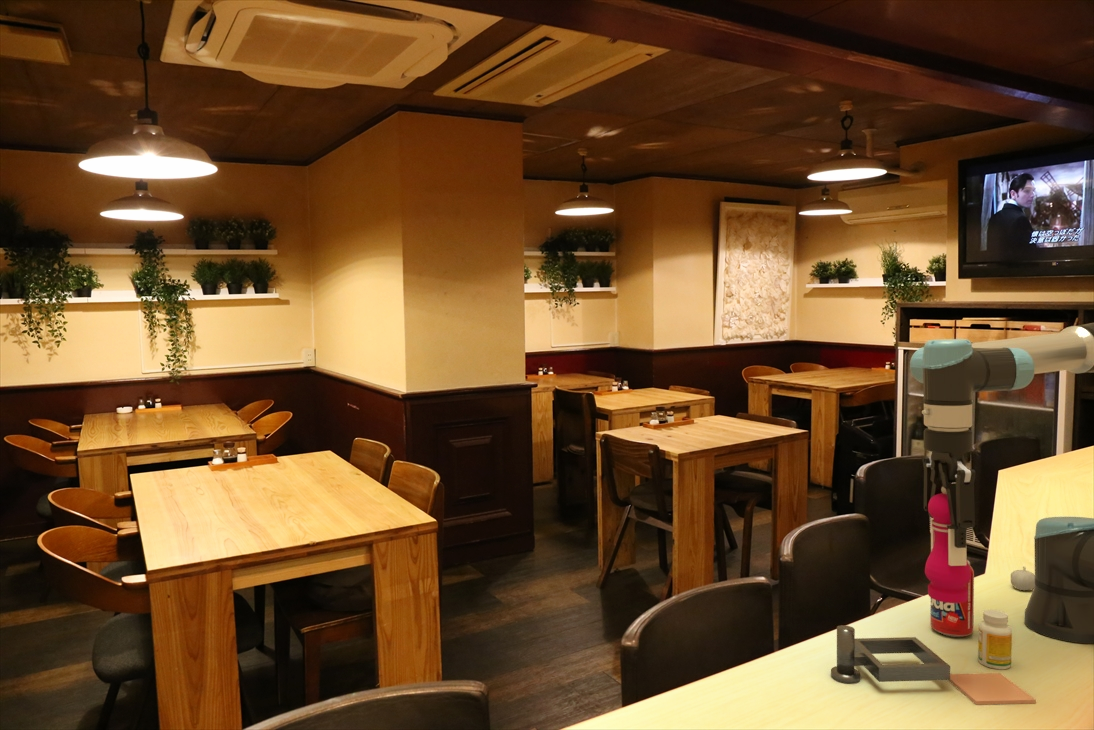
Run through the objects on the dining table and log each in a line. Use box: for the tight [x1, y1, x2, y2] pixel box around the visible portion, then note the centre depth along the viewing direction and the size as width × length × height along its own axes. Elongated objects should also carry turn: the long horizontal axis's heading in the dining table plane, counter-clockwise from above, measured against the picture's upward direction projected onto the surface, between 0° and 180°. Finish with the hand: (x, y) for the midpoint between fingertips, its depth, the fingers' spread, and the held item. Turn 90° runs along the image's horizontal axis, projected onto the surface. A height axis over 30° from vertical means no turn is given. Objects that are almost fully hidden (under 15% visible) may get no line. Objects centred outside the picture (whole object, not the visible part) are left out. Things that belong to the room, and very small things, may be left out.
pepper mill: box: [924, 486, 971, 603], centre depth 136 cm, size 7×7×20 cm
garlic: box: [1010, 566, 1035, 591], centre depth 184 cm, size 6×5×5 cm
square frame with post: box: [830, 624, 951, 685], centre depth 140 cm, size 18×12×9 cm
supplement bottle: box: [977, 609, 1013, 670], centre depth 144 cm, size 5×5×10 cm
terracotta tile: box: [947, 672, 1037, 706], centre depth 134 cm, size 10×10×1 cm
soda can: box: [929, 559, 975, 638], centre depth 159 cm, size 8×8×15 cm
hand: (948, 559), depth 136 cm, fingers closed on pepper mill, 5 cm apart
